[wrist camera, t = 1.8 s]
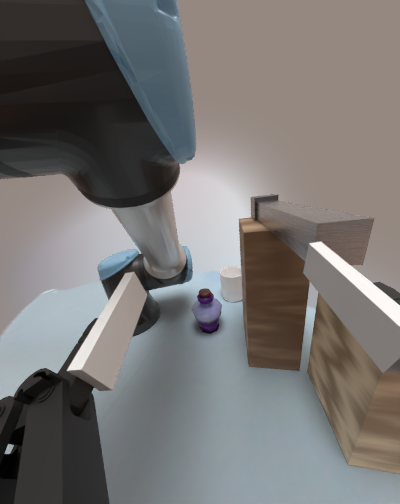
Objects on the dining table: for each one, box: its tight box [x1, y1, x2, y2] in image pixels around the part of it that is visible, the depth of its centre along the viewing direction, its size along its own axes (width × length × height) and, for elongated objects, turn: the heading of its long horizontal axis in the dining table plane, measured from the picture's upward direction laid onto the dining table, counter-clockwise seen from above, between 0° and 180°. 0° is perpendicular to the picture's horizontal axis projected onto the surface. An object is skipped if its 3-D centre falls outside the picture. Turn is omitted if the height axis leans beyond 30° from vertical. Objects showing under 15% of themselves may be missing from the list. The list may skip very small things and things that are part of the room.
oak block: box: [307, 292, 400, 474], centre depth 23 cm, size 12×9×20 cm
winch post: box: [239, 218, 310, 371], centre depth 35 cm, size 14×13×30 cm
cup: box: [220, 266, 243, 302], centre depth 56 cm, size 8×12×10 cm
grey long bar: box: [251, 194, 374, 265], centre depth 23 cm, size 26×4×4 cm, turn 172°
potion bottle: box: [192, 289, 222, 334], centre depth 45 cm, size 9×9×12 cm
